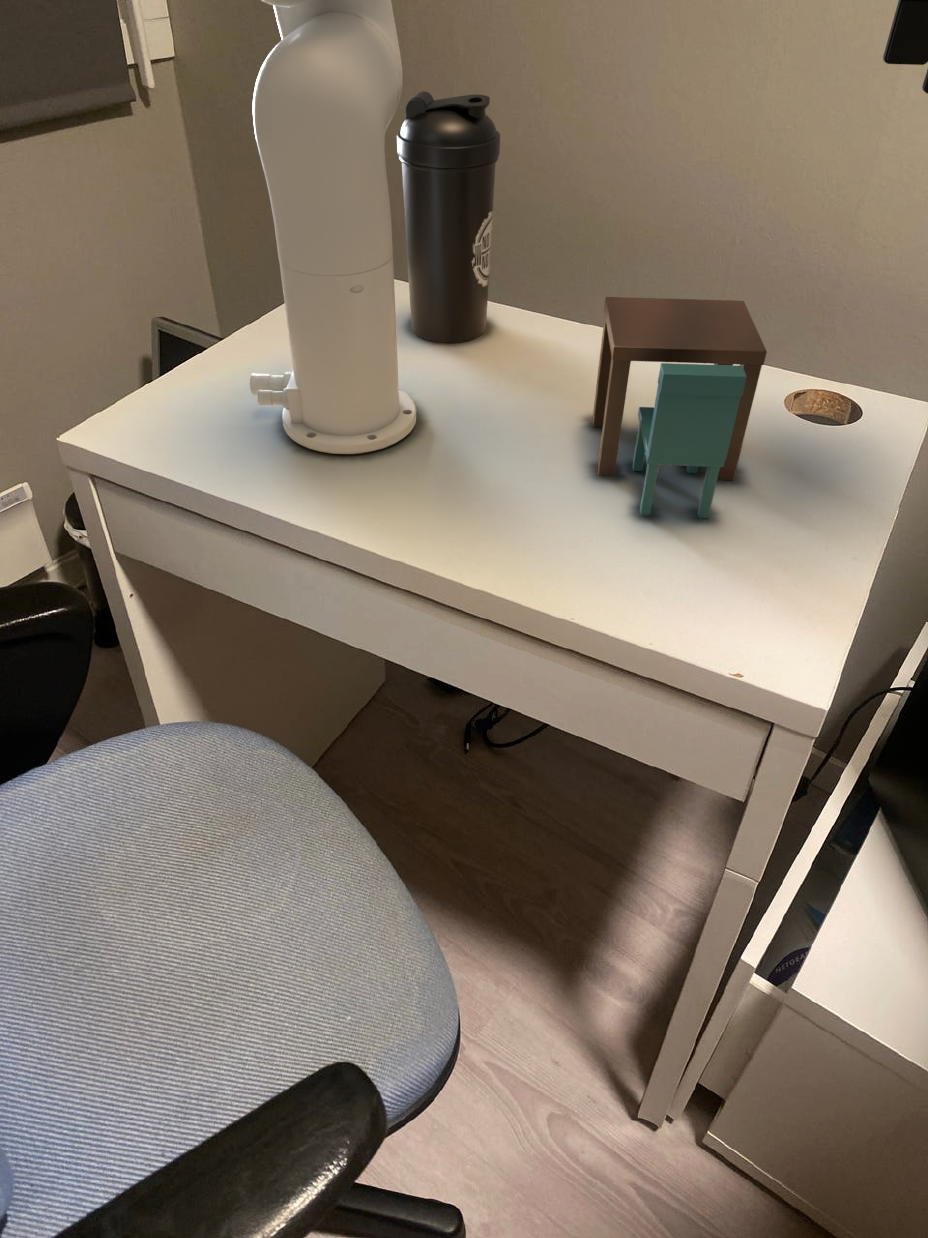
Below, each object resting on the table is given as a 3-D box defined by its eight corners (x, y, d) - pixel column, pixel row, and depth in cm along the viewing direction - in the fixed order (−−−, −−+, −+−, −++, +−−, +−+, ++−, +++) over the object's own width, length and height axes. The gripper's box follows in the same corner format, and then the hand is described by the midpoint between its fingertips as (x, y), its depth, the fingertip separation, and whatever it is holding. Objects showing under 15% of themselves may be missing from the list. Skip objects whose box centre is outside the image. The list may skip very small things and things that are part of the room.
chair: (712, 523, 74) (746, 376, 65) (638, 520, 74) (663, 373, 65) (697, 467, 80) (727, 327, 71) (629, 464, 80) (651, 324, 72)
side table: (597, 475, 79) (614, 346, 71) (591, 419, 86) (605, 296, 78) (735, 480, 78) (767, 351, 70) (716, 423, 86) (744, 300, 78)
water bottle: (484, 350, 97) (491, 111, 82) (393, 341, 99) (383, 105, 83) (500, 312, 105) (509, 87, 89) (415, 304, 106) (410, 82, 91)
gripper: (917, -256, 58) (841, 52, 70) (1018, -277, 45) (904, 105, 57) (1036, -255, 58) (940, 55, 69) (1172, -276, 45) (1026, 108, 56)
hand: (924, 77), depth 63 cm, fingers open, 9 cm apart
